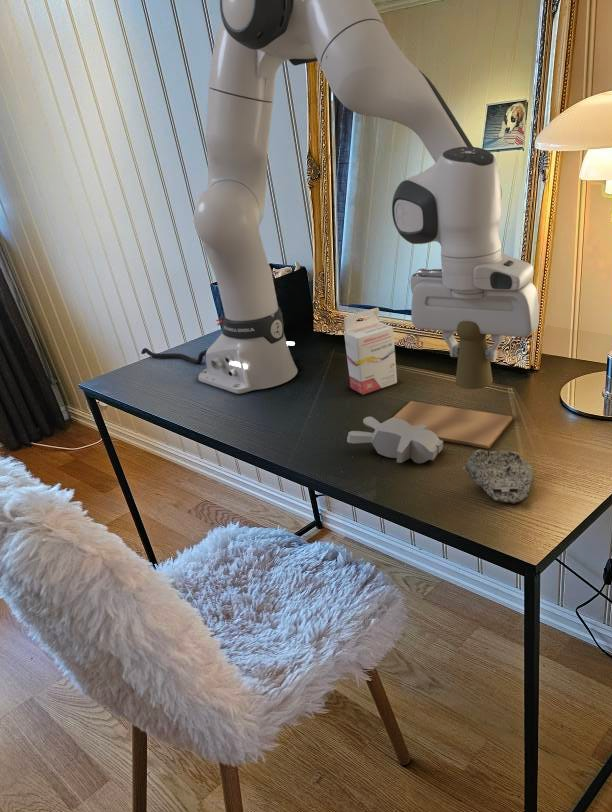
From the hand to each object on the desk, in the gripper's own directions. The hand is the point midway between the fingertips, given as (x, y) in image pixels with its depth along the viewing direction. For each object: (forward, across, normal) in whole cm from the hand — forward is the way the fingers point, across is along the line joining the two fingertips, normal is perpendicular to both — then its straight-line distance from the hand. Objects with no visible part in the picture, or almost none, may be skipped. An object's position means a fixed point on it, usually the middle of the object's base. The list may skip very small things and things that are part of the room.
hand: (473, 357), depth 105 cm
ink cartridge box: (+13, -26, +10) cm, 31 cm away
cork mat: (+13, -5, 0) cm, 14 cm away
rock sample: (+13, +12, -16) cm, 24 cm away
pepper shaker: (+4, 0, 0) cm, 4 cm away
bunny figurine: (+13, -9, -12) cm, 20 cm away
